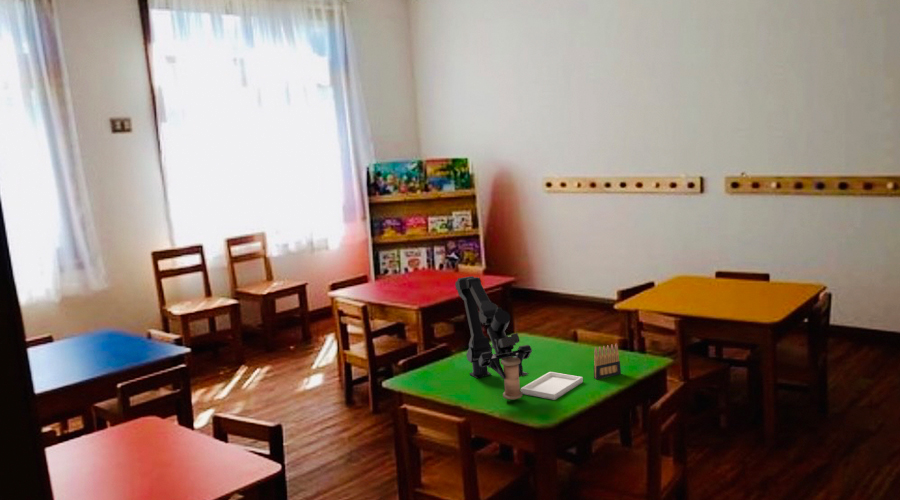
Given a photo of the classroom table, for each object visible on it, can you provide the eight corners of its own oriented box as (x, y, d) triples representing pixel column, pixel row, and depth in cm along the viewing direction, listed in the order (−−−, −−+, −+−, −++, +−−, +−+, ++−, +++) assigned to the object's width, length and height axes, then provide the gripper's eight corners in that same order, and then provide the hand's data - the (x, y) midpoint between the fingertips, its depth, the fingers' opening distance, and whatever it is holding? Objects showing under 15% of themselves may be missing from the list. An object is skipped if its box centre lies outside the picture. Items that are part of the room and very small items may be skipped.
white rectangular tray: (554, 400, 249) (554, 394, 248) (520, 393, 258) (520, 388, 257) (582, 382, 264) (582, 377, 263) (550, 376, 273) (549, 371, 272)
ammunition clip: (596, 379, 266) (594, 348, 264) (593, 378, 267) (592, 347, 265) (621, 374, 269) (619, 343, 267) (618, 372, 271) (616, 342, 269)
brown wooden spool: (499, 395, 252) (497, 359, 250) (515, 390, 255) (513, 355, 253) (509, 401, 246) (507, 364, 244) (526, 396, 249) (524, 360, 247)
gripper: (478, 331, 248) (492, 370, 239) (528, 322, 253) (543, 361, 245) (472, 347, 256) (486, 386, 248) (520, 338, 262) (535, 376, 253)
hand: (513, 377), depth 248 cm, fingers closed on brown wooden spool, 6 cm apart
